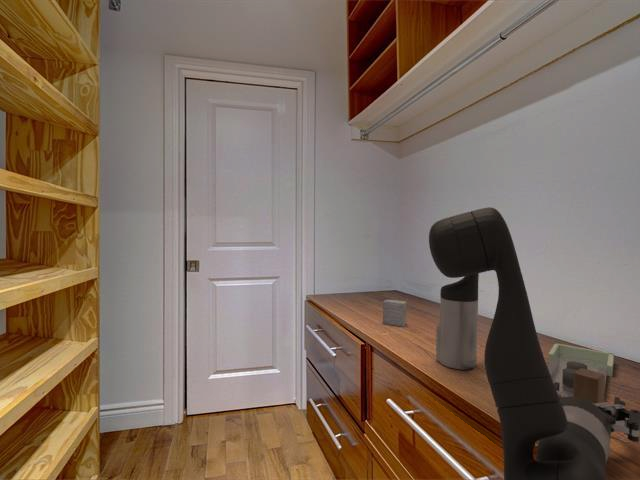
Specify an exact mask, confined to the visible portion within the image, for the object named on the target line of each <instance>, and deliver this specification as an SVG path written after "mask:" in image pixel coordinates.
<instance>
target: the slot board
mask: <svg viewBox="0 0 640 480" xmlns="http://www.w3.org/2000/svg"><path fill="white" fill-rule="evenodd" d="M570 361H572V362H579V363H582V364H585V365H587V370H591V371H594V372H598V373H602V374H604V375H605V386H606V383H607V379H608V378H607V377H608V376H607V363H605V362H600V361H595V360H590V359H584V358H579V357H574V356H569V355H564V354H558V355H557V357H556V358H554V357H553V358H552V359H551V361H550V363H548V364H547V367H548V370H549V372H550V375H551V378H552V380H553V383H555V382H558V383H560V387H559V391H562V392H564V393H565V394H566V395H568V396H573V388H570V387H568V386H565V385H564V384H563V383H562V379H563V369H566V368H567V362H570ZM604 394H605V392H604Z"/></svg>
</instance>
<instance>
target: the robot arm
mask: <svg viewBox="0 0 640 480" xmlns="http://www.w3.org/2000/svg"><path fill="white" fill-rule="evenodd" d="M428 244H429V245H428V246H429V250H430V255H431V258H432V259H433V262H434V264H435V266H436V268H437V269H438V271H439V272H440V273H441V274H442V275H443V276H444V277H446V278H451V279H458V278H461V279H460V280H458V281H456V282H453V283H449V284H448V283H447V284H444V285H443V286H441V288H440V293H439V294H440V295H439V296H440V302H439V303H440V304H439V305H440V307H439V308H440V309H439V324H437V325H436V331H435V332H436V336H435V337H436V339H435V361H438V362H439V363H440V364H441V365H442V366H445V367H447V368H450V369H455V370H461V371H462V370H467V371H469V370H473V369H475V367H477V366H478V365H477V363H478V362H477V361H478V357H477V356H478V329H479V328H478V327H479V326H478V325H479V324H478V323H479V321H478V319H479V318H478V317H479V275H480V274H482V273H486V272H490V271H494V272H495V273H496V278H497V279H496V280H497V283H498V284H497V285H498V295H497V303H496V307H495V311H494V315H493V319H492V322H491V325H490V329H489V331H488V334H487V335H488V336H487V338H486V339H487V340H486V344H485V348H484V370H485V373H486V378H487V381H488V384H489V388H490V391H491V394H492V397H493V401H494V404H495V408H496V411H497V415H498V417H499V422H500V423H499V424H500V431H501V440H502V441H501V442H502V453H503V454H502V455H503V480H608V478H607V477H606V465H607V464H606V463H607V461H608V459H609V456H610V453H611V448H610V446H611V433H614V432H615V431H617V432H620V433H623V434H624V435H625V436H627V440H629V441H632V442H635V443H637V442H638V443H639V441H640V410H637V409H630V410H628V409H627V408H626V402H625V401H624V400H621V397H620V396H619V397H618V396H614V402H613V404H610V403H608V402H606V401H604V403H596V404H594V403H592V402H590V401H588V400H585V399H583V398H579V397H573V396H568V395H566V394H565V393H564V392H562V391H559V387H560V383H558V382H555V383H553V380H552V378H551V375H550V372H549V370H548V367H547V366H548V364H547V362H546V359H545V357H544V353H543V350H542V347H541V345H540V341H539V337H538V334H537V331H536V326H535V322H534V317H533V313H532V309H531V304H530V301H529V296H528V292H527V288H526V284H525V280H524V278H523V273H522V270H521V267H520V262H519V258H518V255H517V251H516V247H515V243H514V240H513V238H512V234H511V232H510V230H509V226H508V224H507V222H506V220H505V219H504V217H503V215H502V214H501V212H499V210H497V209H496V208H494V207H491V206H490V207H484V208H479V209H475V210H470V211H468V212H467V211H466V212H464V213H460V214H456V215H452V216H449V217H445V218H442V219H440V220H438V221H435V223H433V224H432V225H431V227H430V229H429V233H428ZM603 410H604V411H603ZM537 442H538V444H537V446H536V451H535V452H536V453H535V454H536V455H535V457H534V450H535V445H536V443H537ZM535 458H536V460H535Z"/></svg>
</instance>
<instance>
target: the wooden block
mask: <svg viewBox="0 0 640 480" xmlns="http://www.w3.org/2000/svg"><path fill="white" fill-rule="evenodd" d="M605 391H606V385H605V375H604V374H602V373H598V372H594V371H591V370H587V369H583V368H581V369H579V370H577V371H575V372H574V383H573V397H579V398H583V399H585V400H588V401H590V402H592V403H594V404H596V403H605V393H604V392H605ZM603 411H604V410H603Z"/></svg>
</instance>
